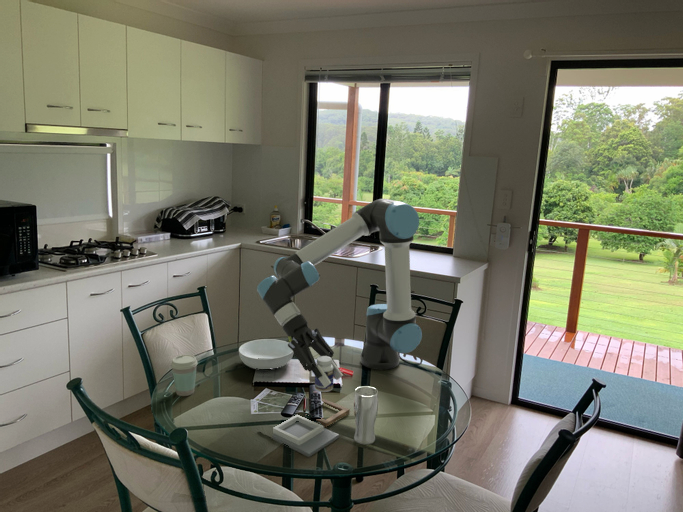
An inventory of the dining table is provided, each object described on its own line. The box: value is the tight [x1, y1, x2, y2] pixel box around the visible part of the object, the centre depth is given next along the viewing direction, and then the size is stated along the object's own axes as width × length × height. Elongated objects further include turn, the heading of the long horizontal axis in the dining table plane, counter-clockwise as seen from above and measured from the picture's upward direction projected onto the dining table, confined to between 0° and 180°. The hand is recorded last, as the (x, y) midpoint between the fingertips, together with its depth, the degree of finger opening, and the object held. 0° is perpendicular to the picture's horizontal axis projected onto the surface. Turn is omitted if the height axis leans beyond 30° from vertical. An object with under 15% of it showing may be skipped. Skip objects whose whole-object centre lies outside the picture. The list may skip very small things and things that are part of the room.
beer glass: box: [353, 385, 379, 446], centre depth 155 cm, size 7×7×15 cm
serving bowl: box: [238, 338, 295, 370], centre depth 205 cm, size 21×21×7 cm
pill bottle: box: [314, 355, 334, 393], centre depth 167 cm, size 6×6×10 cm
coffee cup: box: [170, 354, 199, 397], centre depth 181 cm, size 8×8×12 cm
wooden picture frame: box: [305, 397, 350, 428], centre depth 170 cm, size 12×12×2 cm
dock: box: [272, 413, 340, 458], centre depth 158 cm, size 13×20×2 cm, turn 52°
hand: (334, 381), depth 165 cm, fingers closed on pill bottle, 6 cm apart
